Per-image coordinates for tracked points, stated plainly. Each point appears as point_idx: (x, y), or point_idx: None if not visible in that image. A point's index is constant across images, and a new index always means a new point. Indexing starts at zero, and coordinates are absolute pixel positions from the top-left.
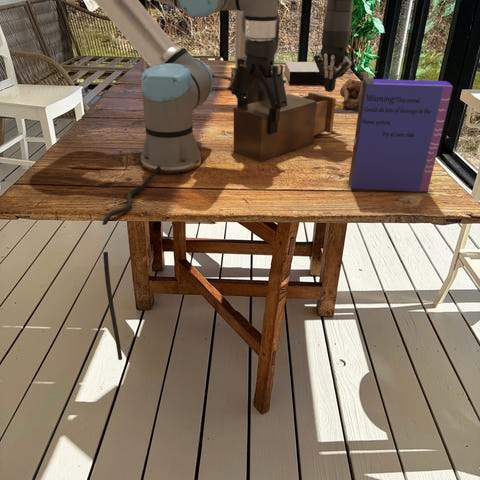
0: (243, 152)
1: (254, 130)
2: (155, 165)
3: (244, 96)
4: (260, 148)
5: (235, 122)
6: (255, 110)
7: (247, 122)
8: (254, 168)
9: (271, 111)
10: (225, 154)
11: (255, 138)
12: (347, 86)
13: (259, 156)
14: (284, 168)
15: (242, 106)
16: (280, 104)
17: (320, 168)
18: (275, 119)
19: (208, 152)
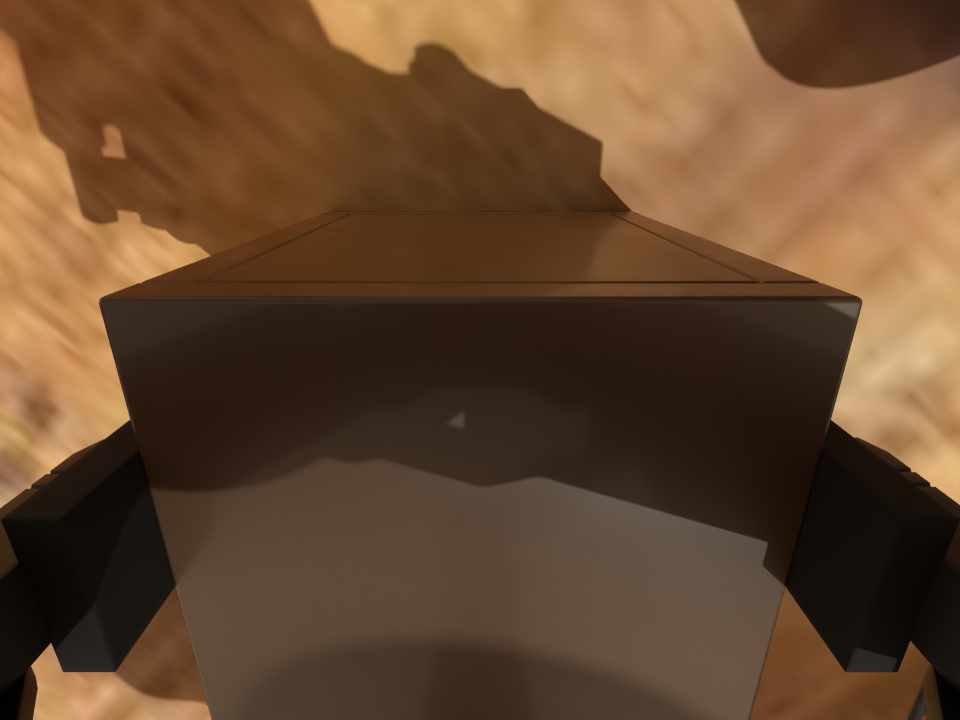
0: (518, 213)
1: (351, 248)
2: None
3: (932, 672)
4: (301, 223)
5: (701, 251)
6: (458, 459)
7: (476, 262)
8: (245, 69)
9: (37, 497)
10: (625, 100)
11: (352, 235)
12: None
13: (330, 214)
14: (132, 252)
15: (774, 457)
16: None
17: (25, 423)
18: (76, 456)
19: (769, 9)
